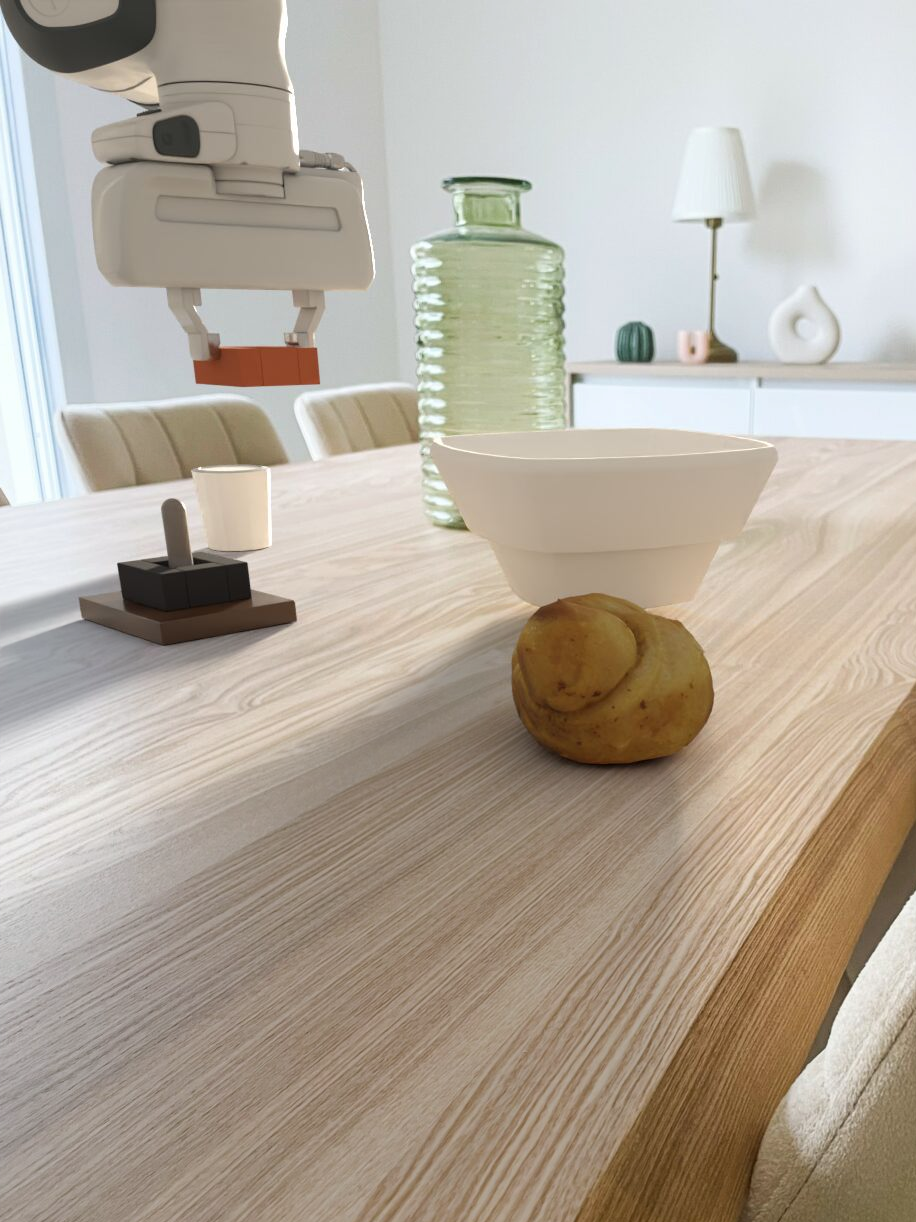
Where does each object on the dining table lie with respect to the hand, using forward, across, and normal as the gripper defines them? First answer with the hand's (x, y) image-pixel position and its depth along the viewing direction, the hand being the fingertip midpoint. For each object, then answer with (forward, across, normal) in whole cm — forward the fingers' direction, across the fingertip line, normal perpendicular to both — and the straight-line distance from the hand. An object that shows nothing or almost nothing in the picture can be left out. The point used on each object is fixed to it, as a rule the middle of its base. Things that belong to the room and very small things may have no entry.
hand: (254, 359), depth 94 cm
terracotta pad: (+2, 0, 0) cm, 2 cm away
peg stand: (+17, +10, +4) cm, 20 cm away
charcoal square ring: (+15, +10, +4) cm, 19 cm away
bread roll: (+17, +9, +45) cm, 49 cm away
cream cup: (+17, -10, -22) cm, 29 cm away
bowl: (+17, -13, +22) cm, 31 cm away
